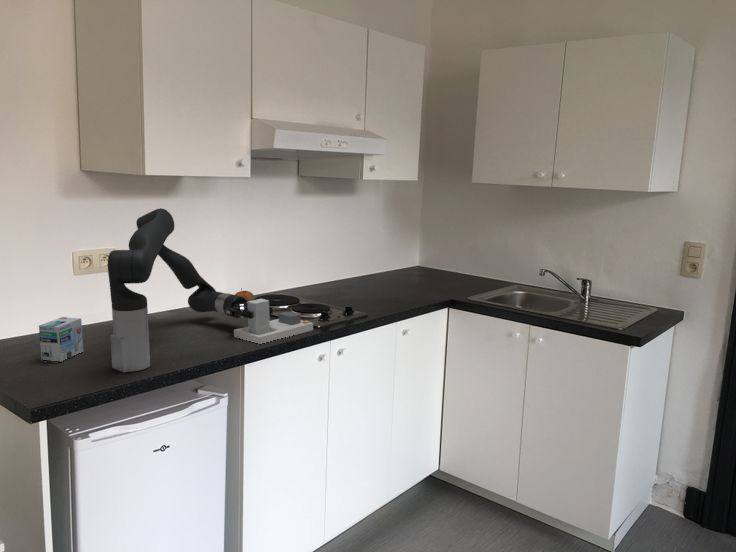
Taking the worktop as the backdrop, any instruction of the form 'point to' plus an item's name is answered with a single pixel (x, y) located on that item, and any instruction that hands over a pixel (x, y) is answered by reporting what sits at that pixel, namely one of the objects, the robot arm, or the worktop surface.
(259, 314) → the skincare box
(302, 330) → the grey rectangular base
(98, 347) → the worktop surface
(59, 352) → the light bulb box
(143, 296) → the robot arm
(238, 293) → the apple
